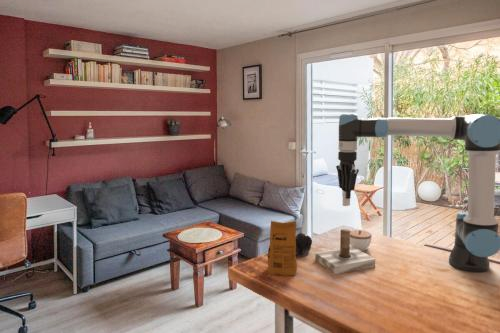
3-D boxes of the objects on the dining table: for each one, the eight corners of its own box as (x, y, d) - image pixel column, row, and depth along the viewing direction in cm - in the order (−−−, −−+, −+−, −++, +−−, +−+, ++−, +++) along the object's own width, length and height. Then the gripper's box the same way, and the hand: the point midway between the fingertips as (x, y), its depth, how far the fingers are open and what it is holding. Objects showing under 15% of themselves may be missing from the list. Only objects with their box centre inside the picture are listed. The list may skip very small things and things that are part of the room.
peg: (351, 264, 163) (352, 231, 161) (343, 265, 162) (344, 232, 160) (345, 260, 167) (346, 228, 165) (337, 262, 166) (338, 229, 163)
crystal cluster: (277, 254, 177) (277, 235, 175) (291, 244, 188) (292, 226, 185) (301, 263, 169) (302, 243, 167) (315, 252, 180) (316, 233, 177)
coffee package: (268, 265, 163) (268, 217, 160) (297, 267, 161) (297, 218, 158) (266, 275, 153) (265, 224, 150) (296, 277, 151) (297, 225, 148)
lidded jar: (374, 252, 176) (374, 233, 175) (351, 252, 176) (351, 233, 175) (367, 244, 187) (367, 226, 185) (345, 244, 187) (346, 226, 186)
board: (375, 266, 161) (375, 258, 160) (335, 274, 154) (335, 266, 153) (352, 253, 175) (352, 246, 175) (315, 260, 168) (315, 252, 168)
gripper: (331, 150, 162) (330, 202, 165) (349, 153, 150) (347, 210, 153) (345, 149, 164) (344, 201, 168) (364, 152, 152) (363, 208, 156)
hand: (346, 205), depth 161 cm, fingers closed
